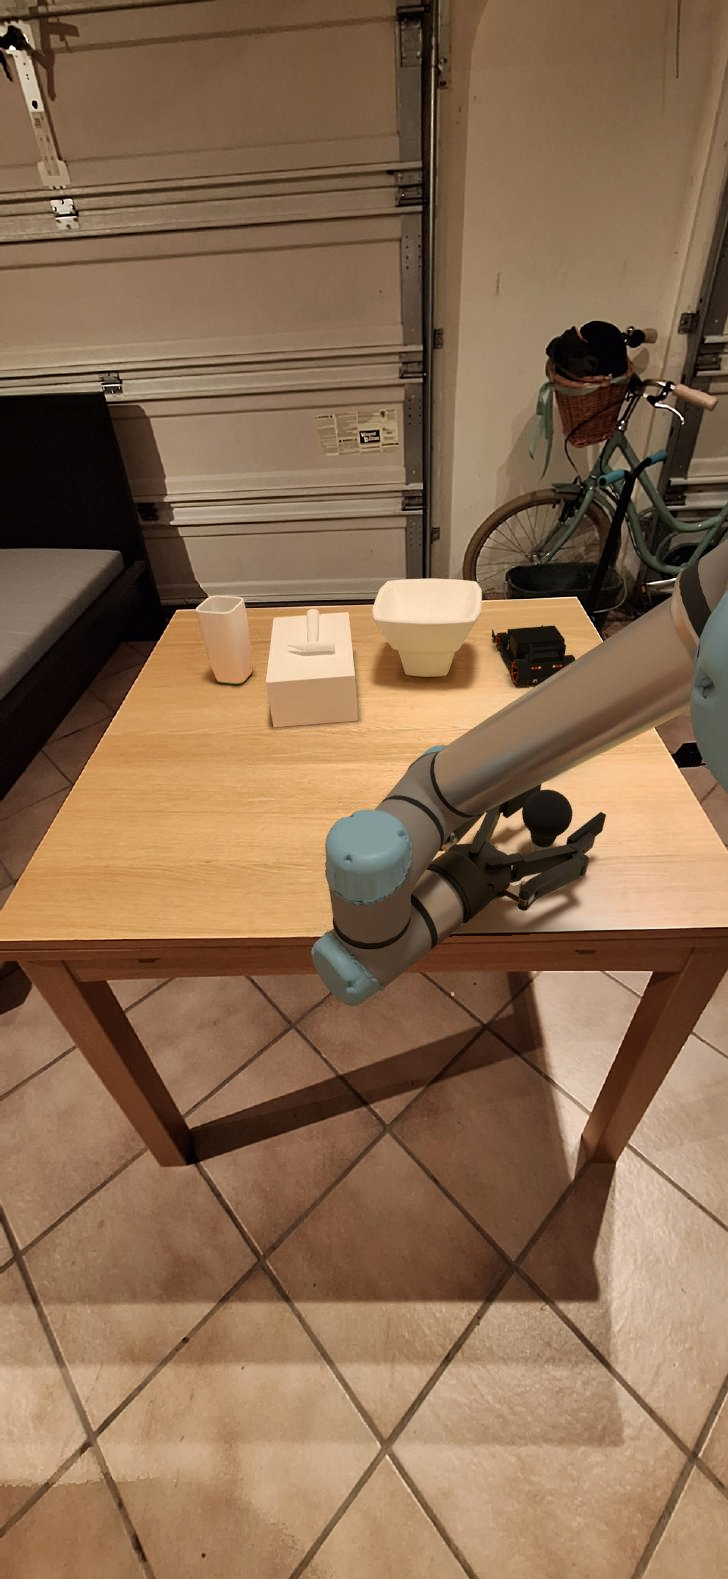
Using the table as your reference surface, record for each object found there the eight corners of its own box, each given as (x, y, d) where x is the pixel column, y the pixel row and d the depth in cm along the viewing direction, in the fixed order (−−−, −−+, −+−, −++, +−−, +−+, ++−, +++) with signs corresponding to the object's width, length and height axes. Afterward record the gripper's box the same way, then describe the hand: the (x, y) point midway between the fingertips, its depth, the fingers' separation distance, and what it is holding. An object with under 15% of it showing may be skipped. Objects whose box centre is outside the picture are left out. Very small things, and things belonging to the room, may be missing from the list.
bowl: (371, 694, 114) (367, 621, 105) (385, 645, 129) (382, 577, 120) (476, 697, 111) (481, 623, 102) (478, 647, 126) (482, 578, 117)
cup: (226, 667, 125) (210, 594, 116) (259, 670, 123) (246, 596, 114) (209, 685, 120) (191, 611, 110) (244, 689, 118) (229, 613, 108)
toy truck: (541, 635, 128) (546, 600, 123) (574, 684, 113) (581, 646, 108) (490, 639, 128) (493, 605, 123) (516, 689, 112) (520, 652, 108)
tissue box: (273, 727, 107) (263, 669, 100) (279, 658, 127) (271, 606, 120) (358, 720, 107) (354, 662, 100) (351, 652, 127) (347, 600, 120)
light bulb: (573, 863, 79) (586, 803, 73) (532, 877, 78) (542, 817, 72) (547, 834, 84) (557, 774, 77) (507, 846, 82) (515, 787, 76)
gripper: (378, 868, 77) (500, 787, 88) (516, 980, 64) (640, 869, 75) (375, 822, 73) (504, 743, 83) (523, 934, 60) (655, 823, 70)
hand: (568, 803), depth 79 cm, fingers open, 9 cm apart
